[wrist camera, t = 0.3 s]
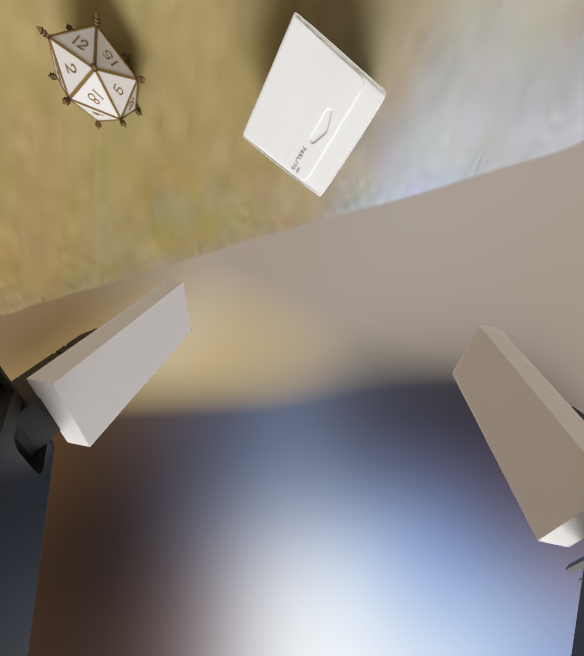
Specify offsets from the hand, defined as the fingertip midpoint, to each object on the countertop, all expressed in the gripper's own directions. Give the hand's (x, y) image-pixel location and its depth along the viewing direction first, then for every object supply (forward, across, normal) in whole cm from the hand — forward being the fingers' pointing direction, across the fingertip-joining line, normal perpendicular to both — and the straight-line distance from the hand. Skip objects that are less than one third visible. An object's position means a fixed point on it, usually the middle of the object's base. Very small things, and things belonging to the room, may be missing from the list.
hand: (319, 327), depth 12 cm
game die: (+28, -27, +12) cm, 40 cm away
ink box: (+28, -3, +9) cm, 29 cm away
